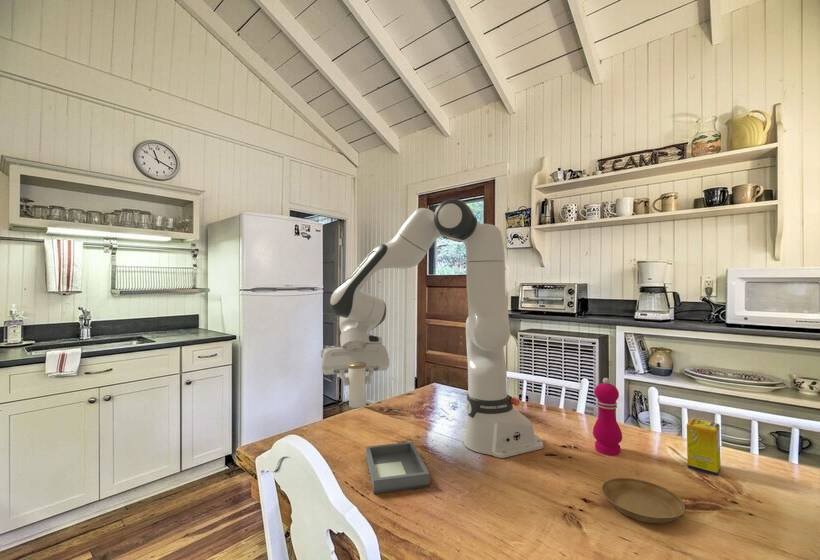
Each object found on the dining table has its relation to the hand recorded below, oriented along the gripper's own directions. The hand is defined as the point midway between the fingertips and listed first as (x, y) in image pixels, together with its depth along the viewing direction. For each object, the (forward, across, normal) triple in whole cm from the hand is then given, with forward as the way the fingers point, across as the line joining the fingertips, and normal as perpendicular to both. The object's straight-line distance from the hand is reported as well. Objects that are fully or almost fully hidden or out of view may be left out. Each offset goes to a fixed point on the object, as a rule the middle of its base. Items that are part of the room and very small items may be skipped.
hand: (357, 383), depth 110 cm
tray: (+25, +8, +1) cm, 26 cm away
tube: (+4, 0, +5) cm, 6 cm away
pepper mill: (+28, +67, -1) cm, 72 cm away
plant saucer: (+45, +55, -18) cm, 73 cm away
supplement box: (+38, +83, -11) cm, 92 cm away
